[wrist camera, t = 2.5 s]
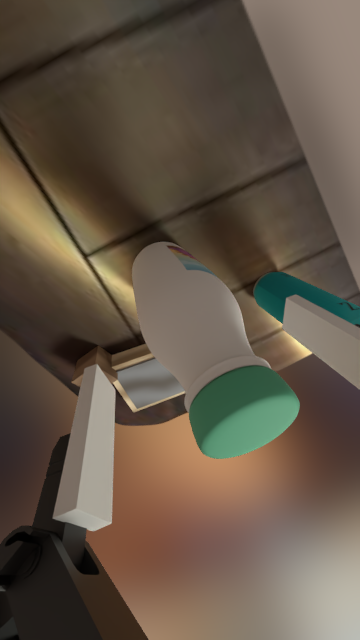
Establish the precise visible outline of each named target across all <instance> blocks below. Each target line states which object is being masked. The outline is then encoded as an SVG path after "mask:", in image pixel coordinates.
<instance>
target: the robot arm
mask: <svg viewBox="0 0 360 640" xmlns="http://www.w3.org/2000/svg"><path fill="white" fill-rule="evenodd" d="M282 329H283V330H284V331H286V332H287V333H288V334H289V335H291V336H292V337H293V338H295V339H296V340H297V341H298V342H300V343H301V344H302V345H303V346H305V347H306V348H307V349H309V350H310V351H311V352H312V353H314V354H315V355H316V356H317V357H319V358H320V359H321V360H323V361H324V362H325V363H326V364H328V365H329V366H330V367H332V368H333V369H334V370H335V371H337V372H338V373H339V374H340V375H342V376H343V377H344V378H346V379H347V380H348V381H349V382H351V383H352V384H353V385H354V386H356V387H357V388H358V389H360V325H359V324H355V325H353V324H351V323H349V322H348V321H346V320H344V319H342V318H340V317H338V316H336V315H334V314H332V313H330V312H329V311H327V310H325V309H323V308H321V307H319V306H317V305H315V304H313V303H311V302H310V301H308V300H306V299H304V298H302V297H300V296H298V295H293V296H290V297H287V298H286V303H285V310H284V318H283V326H282ZM114 423H115V389H114V387H113V386H112V384H111V383H110V382H109V380H108V379H107V377H106V376H105V374H104V373H103V372H102V370H101V369H100V367H99V366H98V365H97V364H95V365H92V366H90V367H87V368H85V369H84V374H83V378H82V383H81V388H80V392H79V397H78V402H77V406H76V411H75V416H74V420H73V425H72V430H71V433H70V434H67V435H65V436H62V437H60V439H59V441H58V442H57V444H56V446H55V448H54V449H53V452H52V455H51V459H50V463H49V465H50V466H49V467H48V470H47V474H46V479H45V481H44V485H43V488H42V492H41V496H40V500H39V503H38V507H37V511H36V514H35V518H34V522H33V525H32V526H20V527H19V528H17V529H15V530H13V531H12V532H11V533H10V534H9V535H8V536H7V537H6V538H5V539H4V540H3V541H2V543H1V544H0V640H148V638H147V636H146V635H145V633H144V632H143V630H142V628H141V627H140V625H139V624H138V622H137V620H136V619H135V617H134V616H133V614H132V612H131V611H130V609H129V608H128V606H127V604H126V603H125V601H124V600H123V598H122V597H121V595H120V593H119V592H118V590H117V588H116V587H115V585H114V583H113V582H112V580H111V579H110V577H109V576H108V574H107V572H106V571H105V569H104V567H103V566H102V564H101V563H100V561H99V560H98V558H97V556H96V555H95V553H94V551H93V550H92V548H91V547H90V545H89V543H88V542H87V541H85V538H86V529H88V530H91V531H95V530H98V529H100V528H102V527H104V526H106V525H109V524H111V523H112V499H113V458H114Z"/></svg>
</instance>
